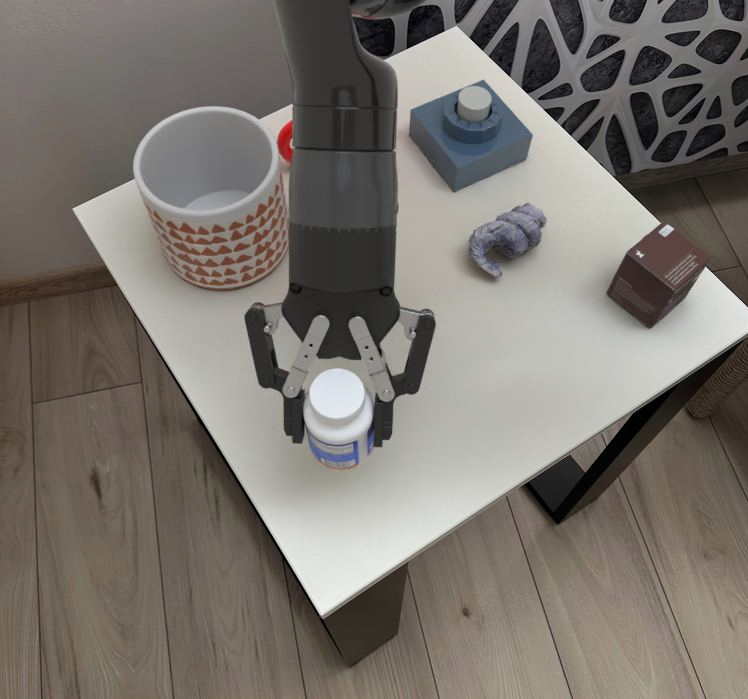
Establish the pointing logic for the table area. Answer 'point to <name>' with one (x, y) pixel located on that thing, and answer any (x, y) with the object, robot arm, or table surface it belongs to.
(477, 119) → the grey short cylinder
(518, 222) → the seashell
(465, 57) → the table surface
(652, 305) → the box
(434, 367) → the table surface
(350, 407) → the pill bottle
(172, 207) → the planter
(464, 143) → the button housing
